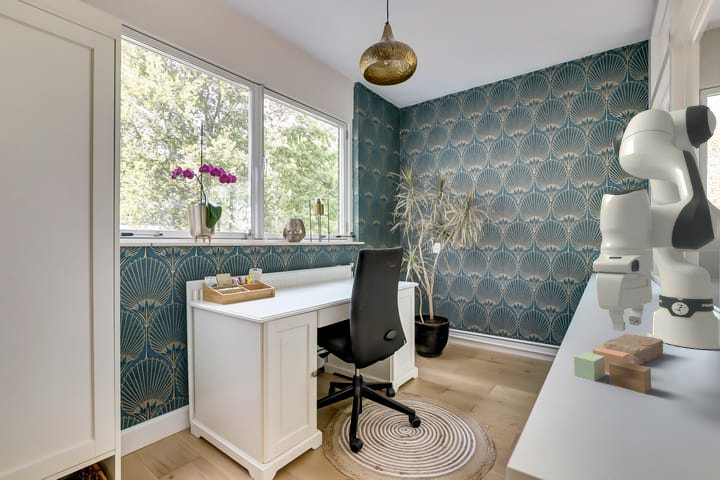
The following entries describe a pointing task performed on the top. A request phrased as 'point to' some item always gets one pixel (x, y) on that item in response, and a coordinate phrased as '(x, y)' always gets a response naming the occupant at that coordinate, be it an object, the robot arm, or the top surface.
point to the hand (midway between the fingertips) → (627, 327)
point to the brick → (636, 347)
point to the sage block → (589, 366)
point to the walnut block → (630, 376)
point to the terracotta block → (611, 356)
